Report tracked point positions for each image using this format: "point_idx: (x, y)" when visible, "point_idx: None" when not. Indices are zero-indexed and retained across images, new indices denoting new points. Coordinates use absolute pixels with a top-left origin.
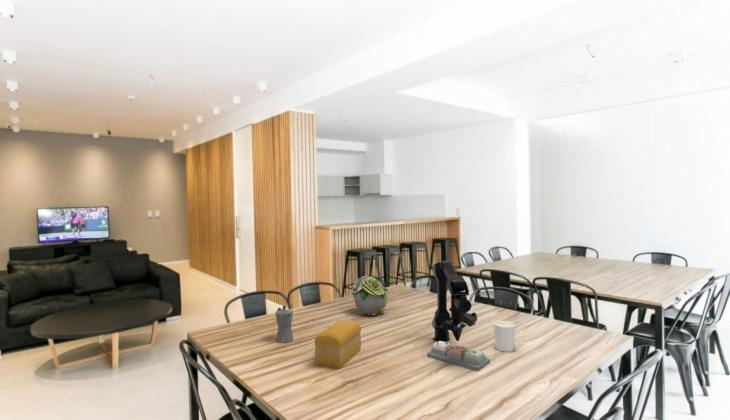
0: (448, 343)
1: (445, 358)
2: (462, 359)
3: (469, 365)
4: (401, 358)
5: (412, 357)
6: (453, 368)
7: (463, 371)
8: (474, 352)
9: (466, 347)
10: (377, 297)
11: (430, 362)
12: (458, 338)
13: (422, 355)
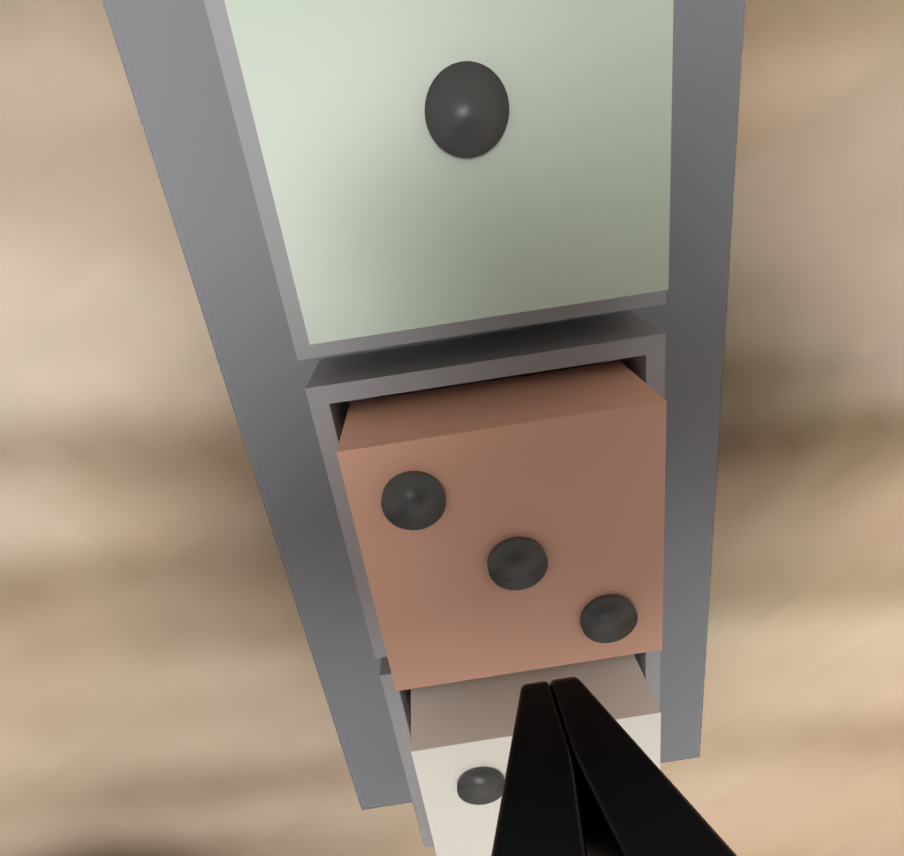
0: (447, 774)
1: (710, 532)
2: (593, 320)
3: (739, 51)
4: (884, 812)
5: (798, 779)
6: (839, 284)
7: (868, 80)
8: (496, 82)
9: (342, 462)
10: None
11: (817, 602)
12: (625, 739)
13: (682, 760)
